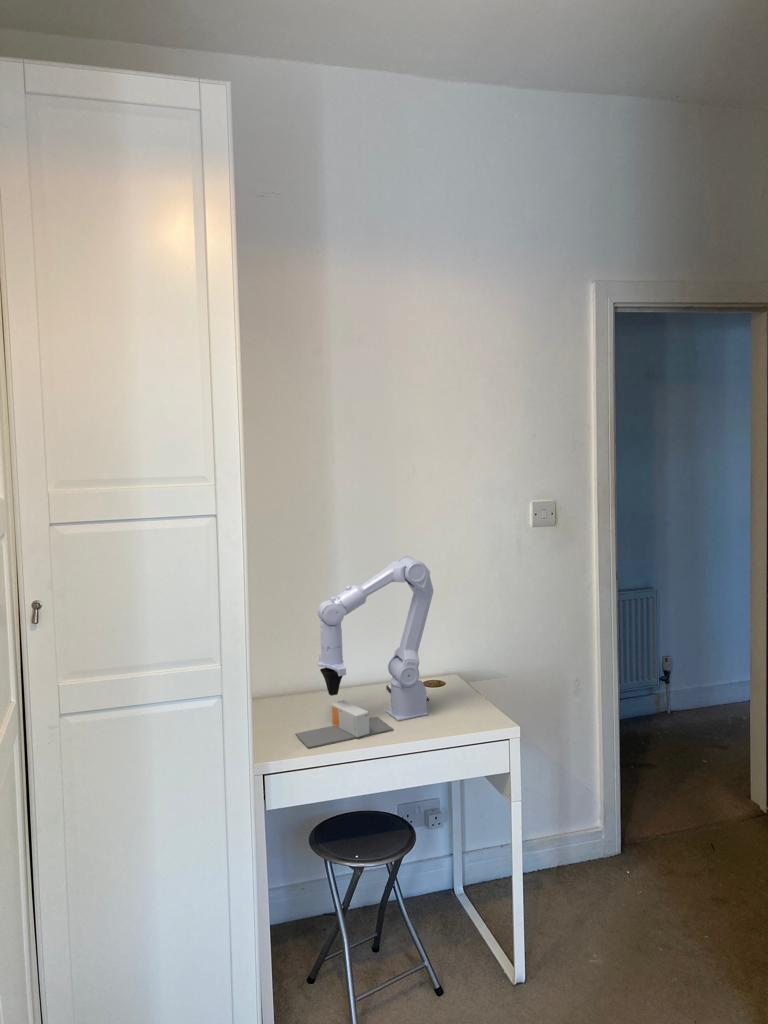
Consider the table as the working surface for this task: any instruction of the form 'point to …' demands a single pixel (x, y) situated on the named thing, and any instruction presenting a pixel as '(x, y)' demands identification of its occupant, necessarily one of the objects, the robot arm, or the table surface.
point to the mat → (339, 734)
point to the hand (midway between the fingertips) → (333, 694)
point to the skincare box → (350, 718)
